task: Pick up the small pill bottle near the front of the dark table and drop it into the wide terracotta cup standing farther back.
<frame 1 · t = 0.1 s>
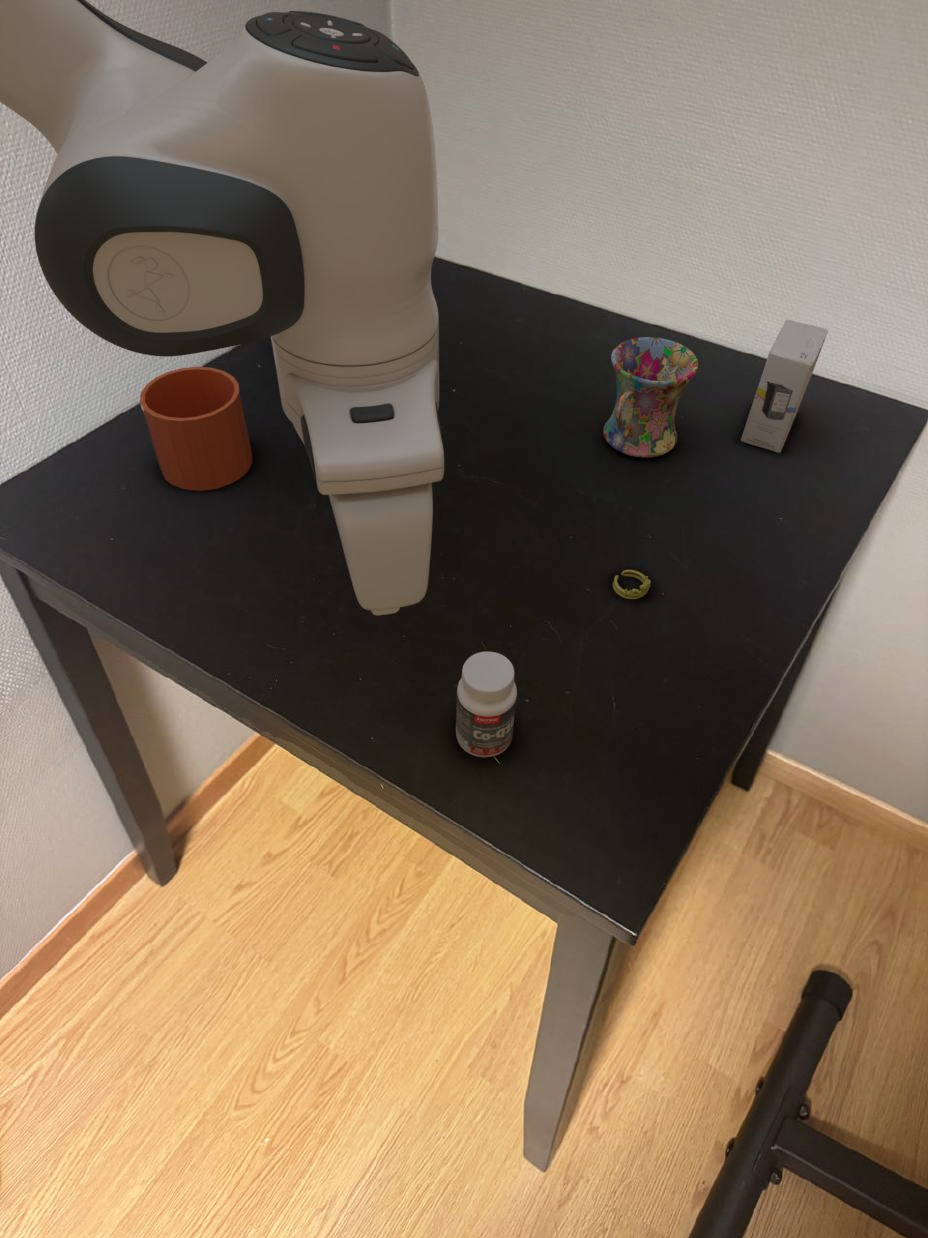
hand: (373, 556, 57), 20 cm above the table, tool pointing down, fingers open, 8 cm apart
cat figurine: (317, 367, 110), on the table
ring: (631, 590, 84), on the table
ink box: (768, 431, 102), on the table
pill bottle: (484, 736, 72), on the table
cup: (207, 462, 96), on the table
mug: (632, 447, 100), on the table
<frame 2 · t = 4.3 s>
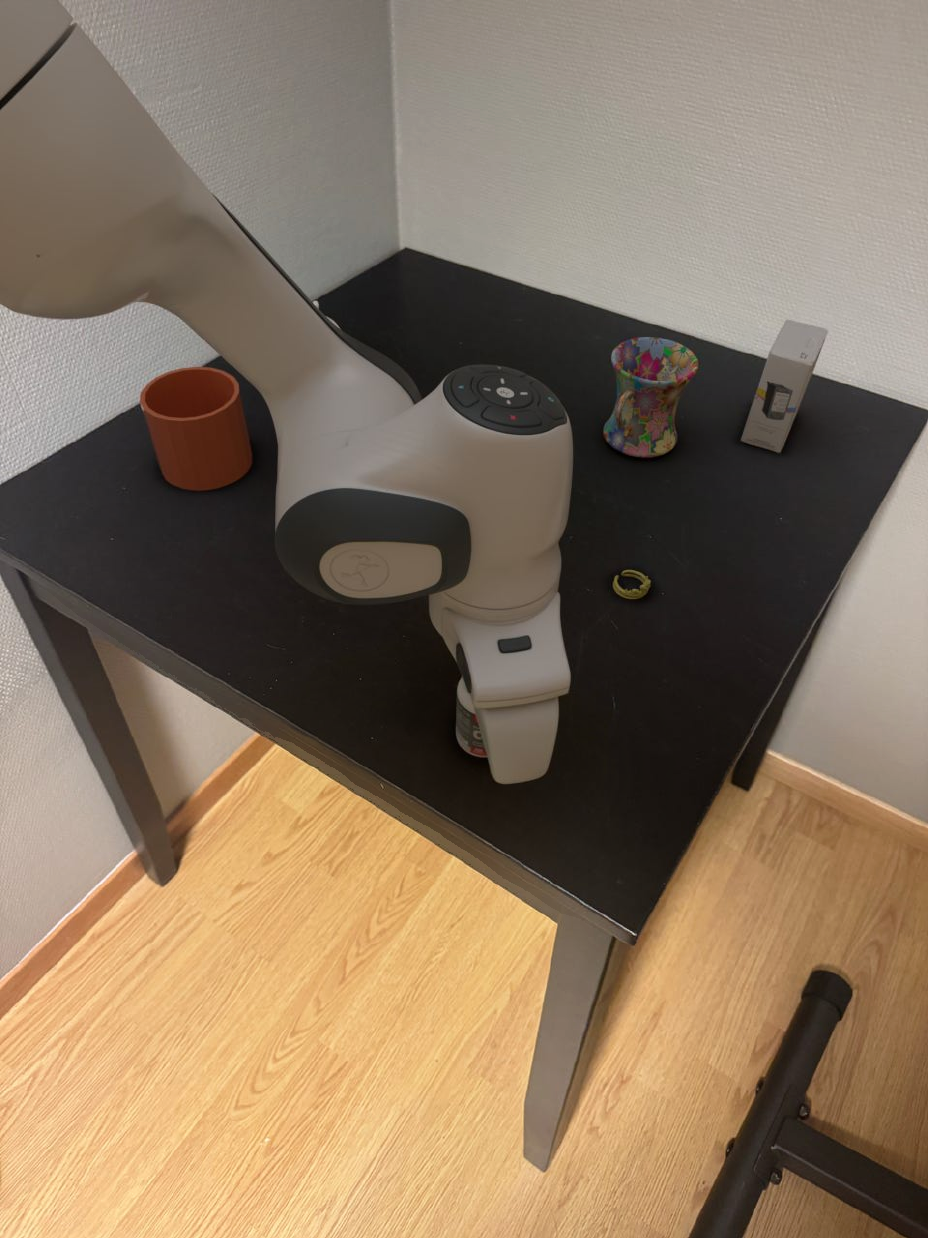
hand: (485, 713, 69), 3 cm above the table, tool pointing down, fingers closed on pill bottle, 5 cm apart
pill bottle: (484, 736, 72), on the table, touching gripper
everything else where it was.
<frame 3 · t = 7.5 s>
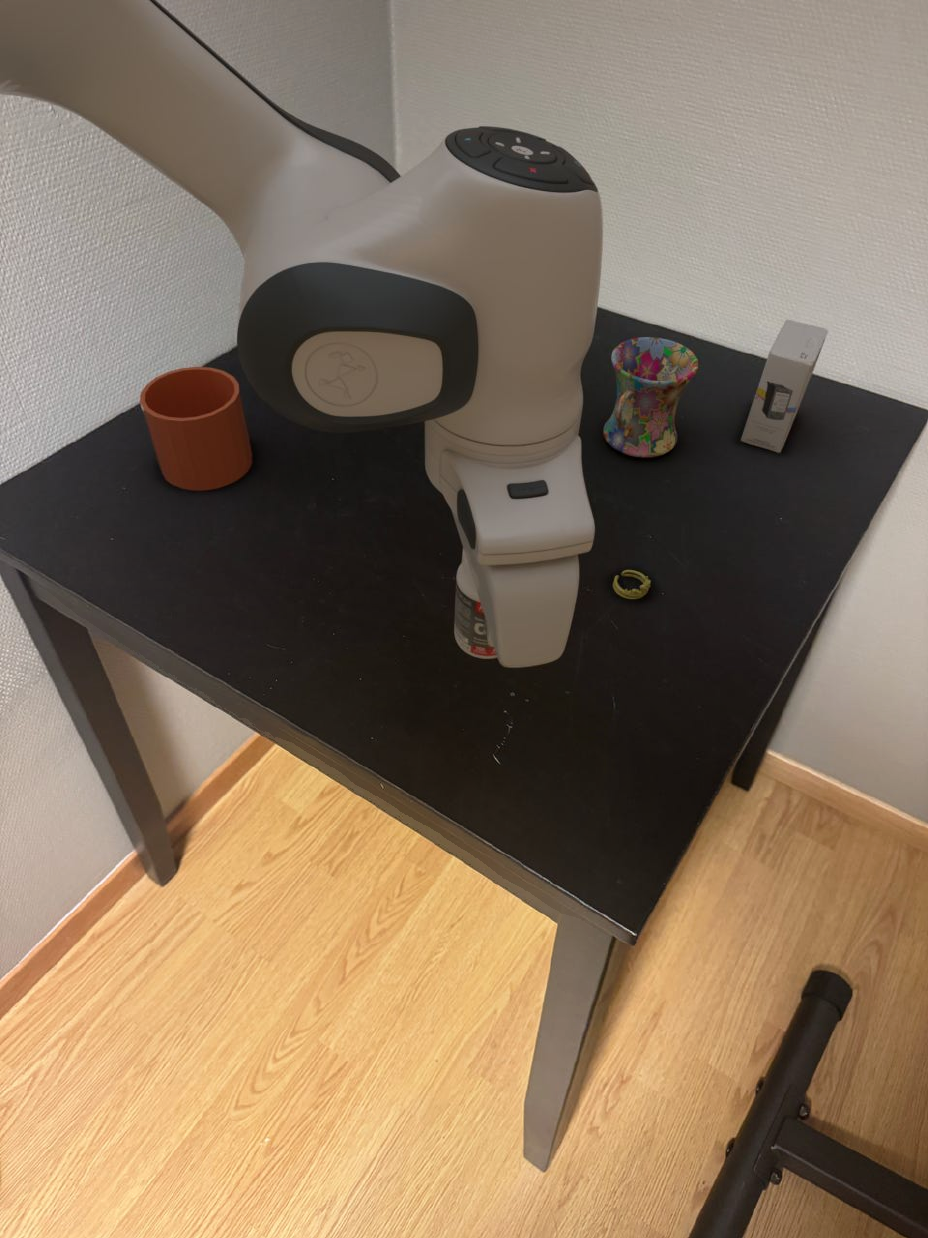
hand: (488, 606, 60), 16 cm above the table, tool pointing down, fingers closed on pill bottle, 5 cm apart
pill bottle: (486, 637, 63), point 12 cm above the table, touching gripper
everything else where it was.
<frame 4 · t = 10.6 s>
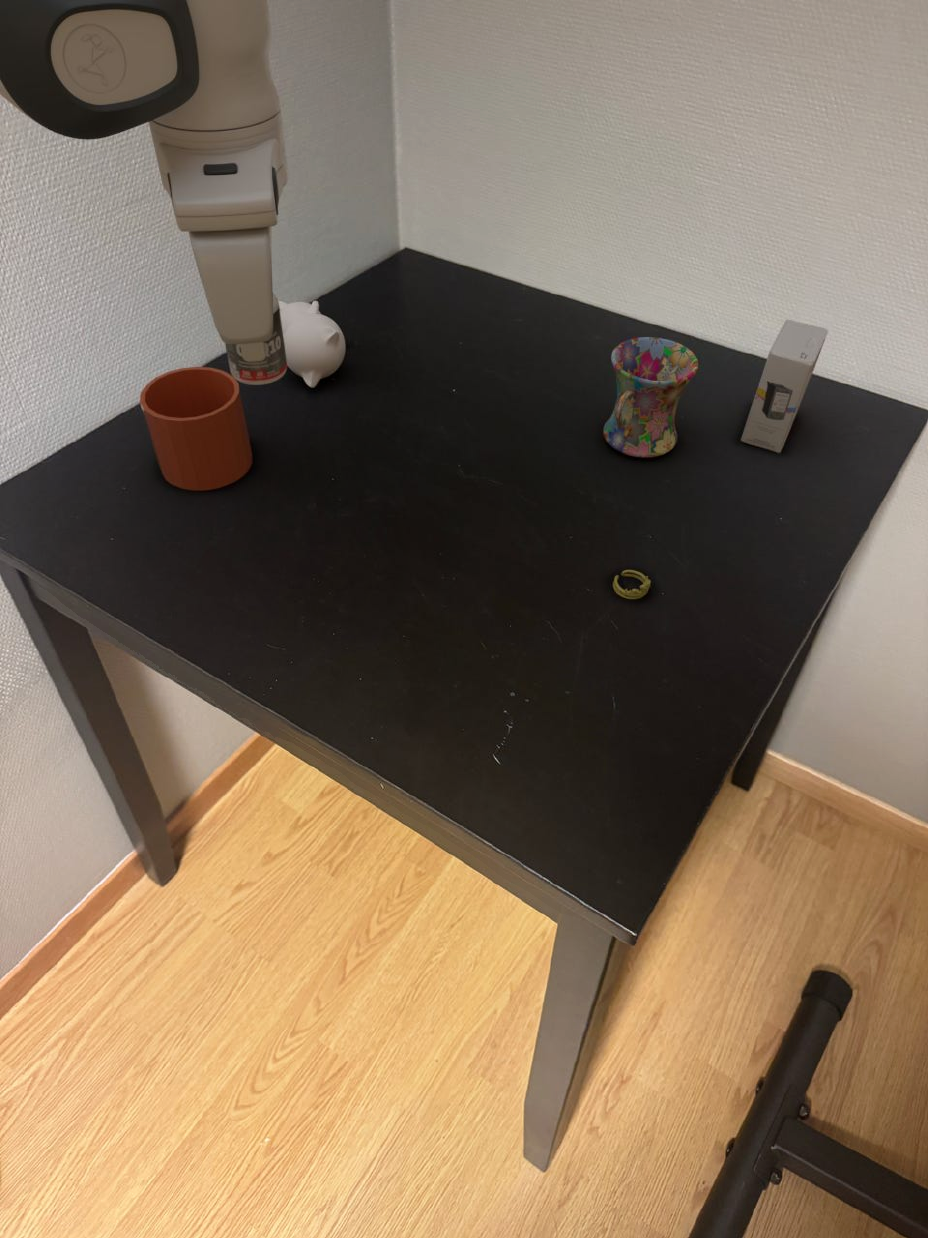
hand: (253, 337, 70), 23 cm above the table, tool pointing down, fingers closed on pill bottle, 5 cm apart
pill bottle: (260, 373, 73), point 20 cm above the table, touching gripper
everything else where it was.
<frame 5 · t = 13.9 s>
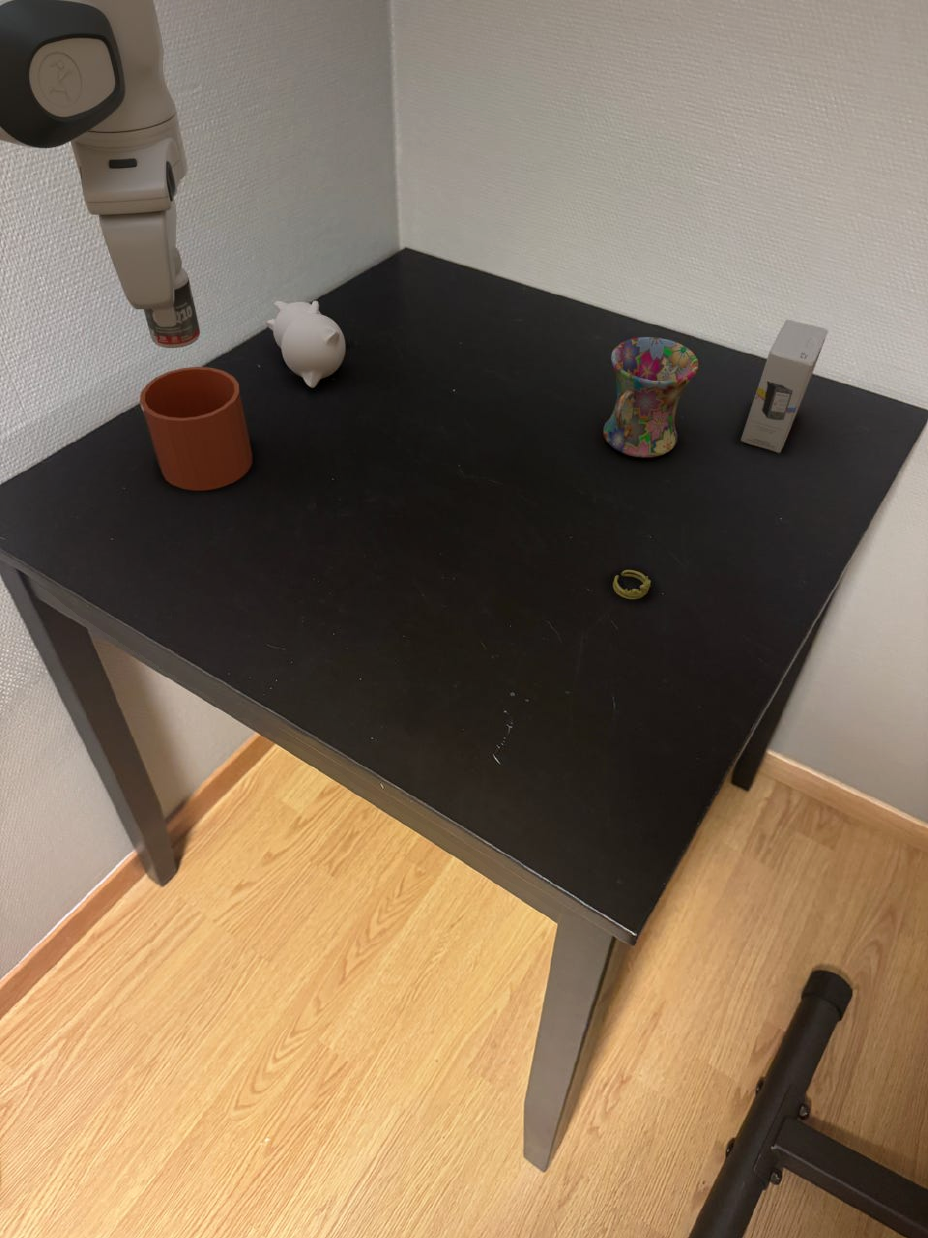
hand: (168, 307, 83), 18 cm above the table, tool pointing down, fingers closed on pill bottle, 5 cm apart
pill bottle: (177, 338, 85), point 15 cm above the table, touching gripper
everything else where it was.
when the fingers open (10 cm above the table, at t = 16.8 s): pill bottle drops 6 cm, resting on cup.
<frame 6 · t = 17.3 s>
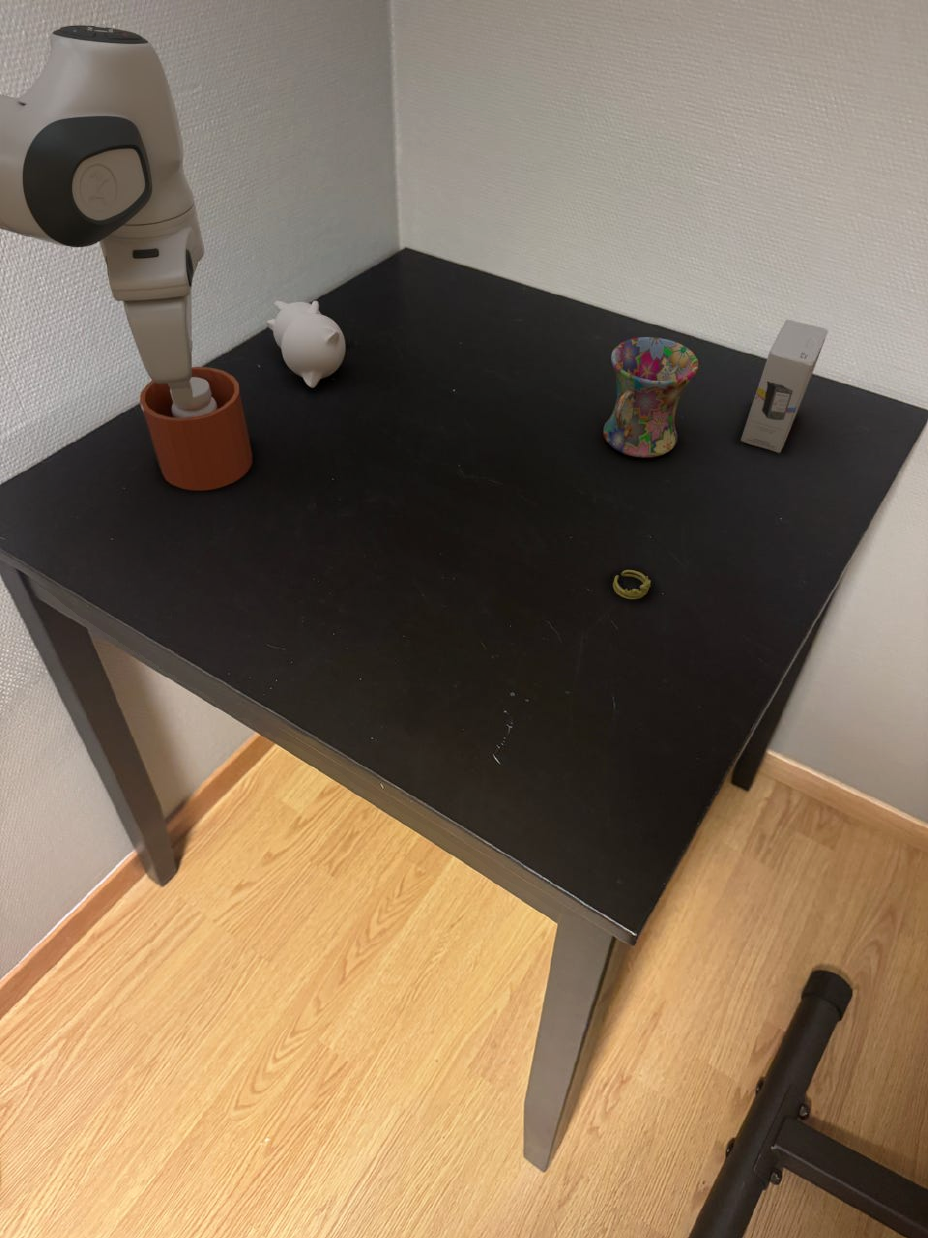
hand: (184, 373, 88), 11 cm above the table, tool pointing down, fingers open, 8 cm apart
pill bottle: (205, 454, 96), point 1 cm above the table, touching cup
everything else where it was.
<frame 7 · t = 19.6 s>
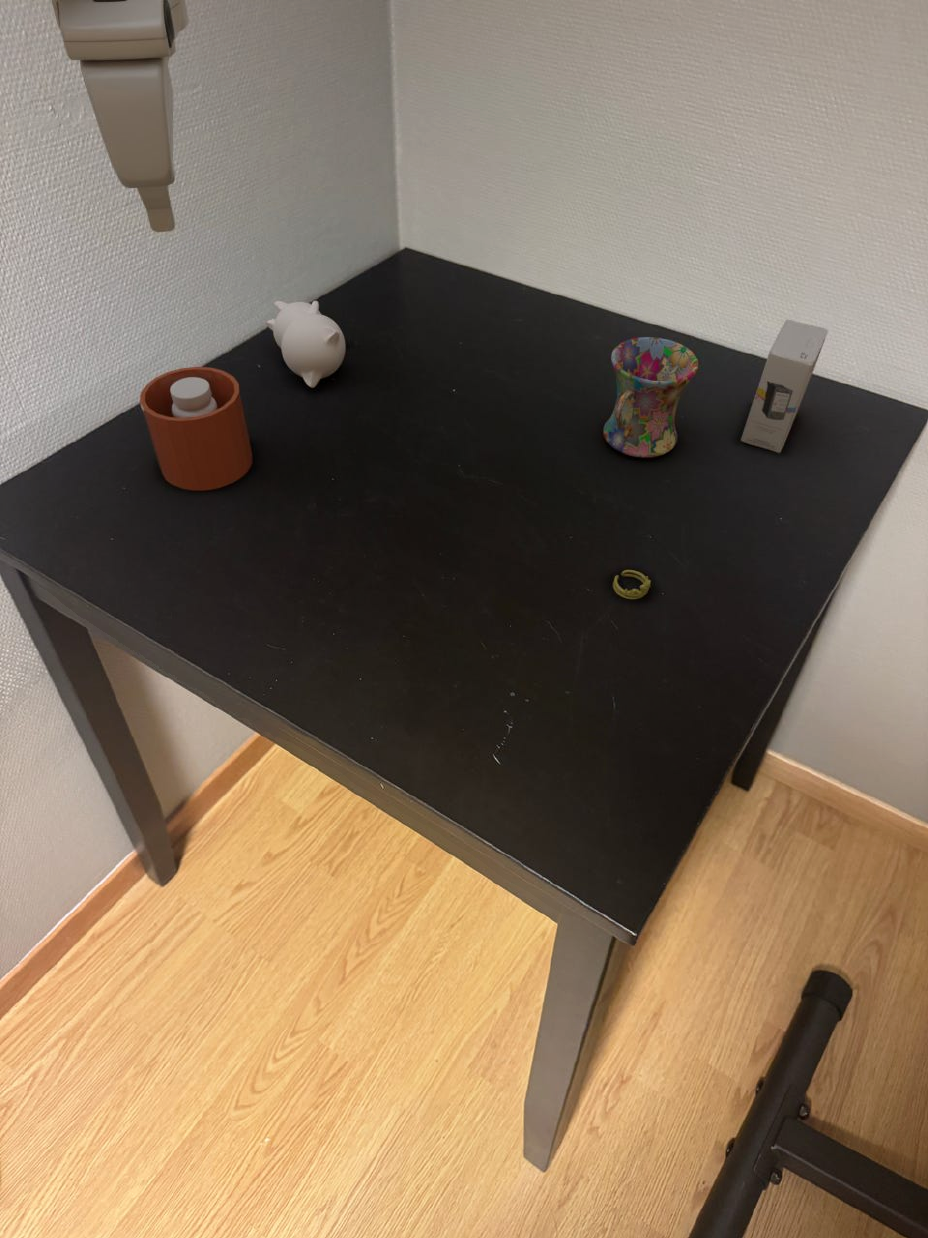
hand: (164, 203, 70), 30 cm above the table, tool pointing down, fingers open, 8 cm apart
nothing on the table moved.
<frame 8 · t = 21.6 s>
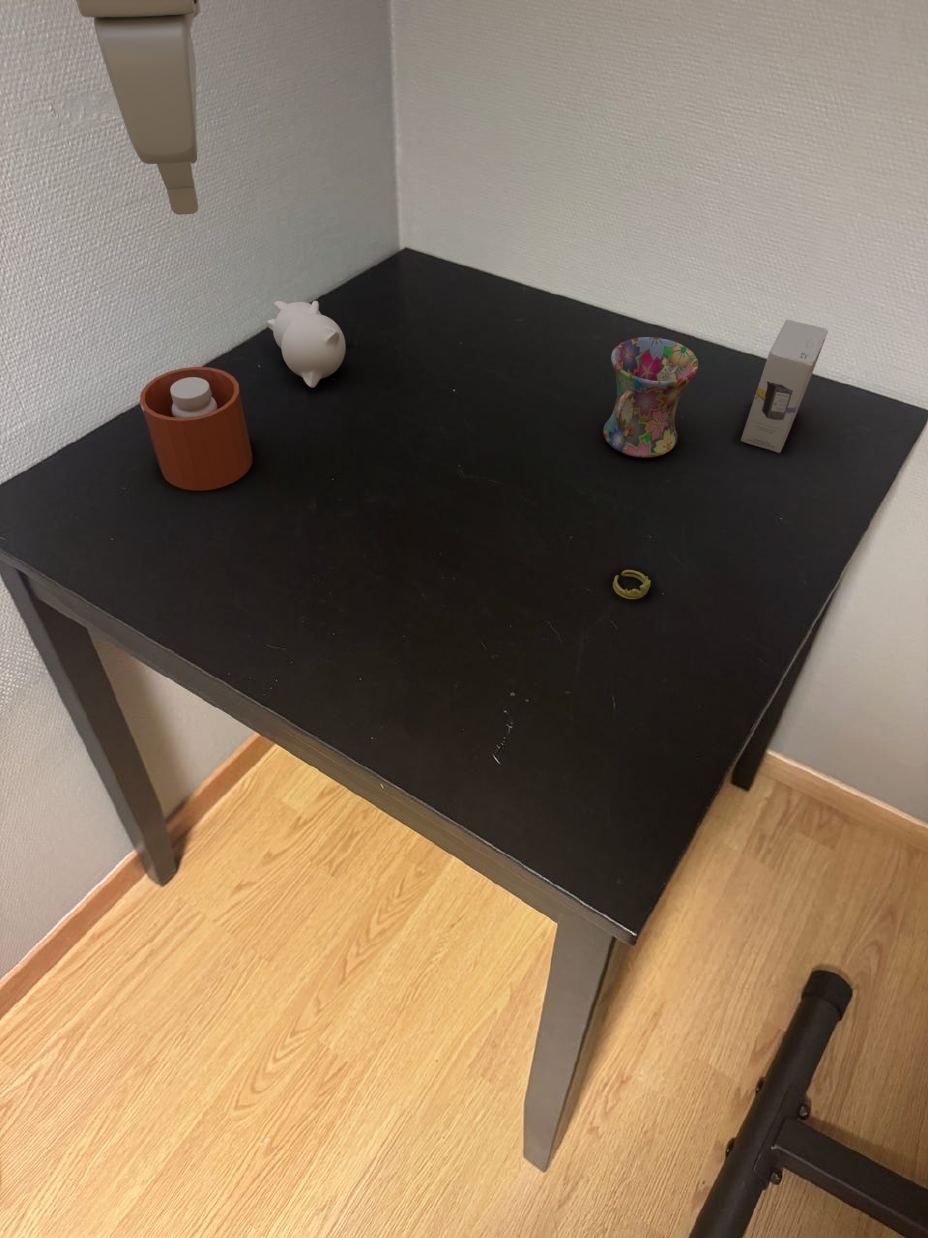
hand: (186, 184, 63), 34 cm above the table, tool pointing down, fingers open, 8 cm apart
nothing on the table moved.
at the end: pill bottle inside the target area in the cup (0.7 cm from its centre), point 0.6 cm above the cup's base; the gripper is holding nothing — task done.
